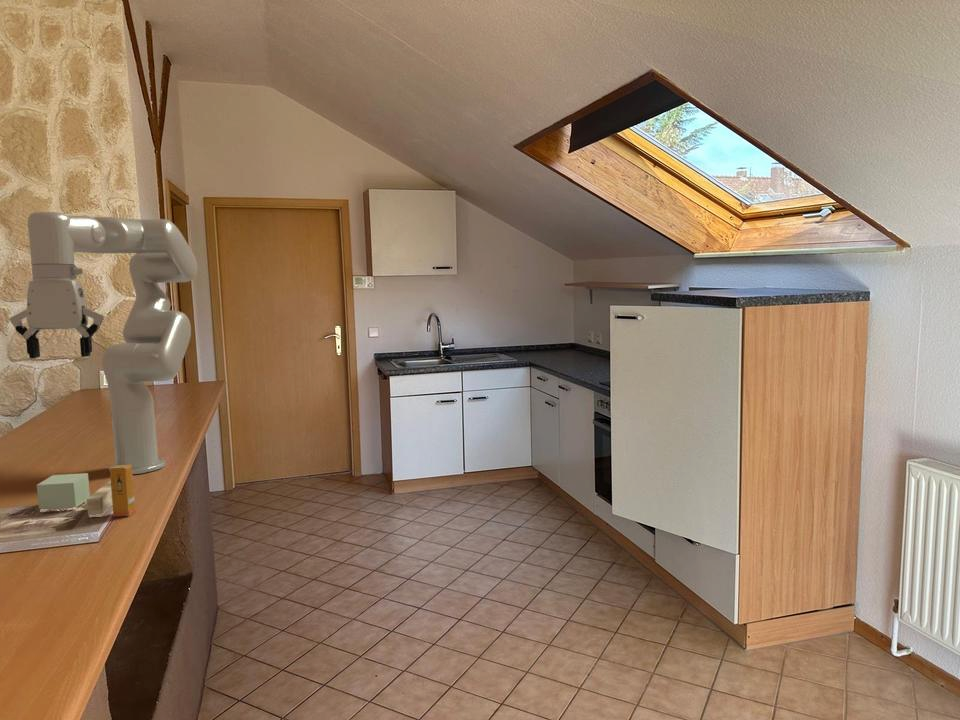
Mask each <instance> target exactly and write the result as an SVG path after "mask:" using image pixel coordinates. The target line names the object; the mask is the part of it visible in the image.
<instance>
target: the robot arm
mask: <svg viewBox="0 0 960 720" xmlns="http://www.w3.org/2000/svg"><path fill="white" fill-rule="evenodd" d="M27 226H28V239H29V240H28V241H29V252H30V253H29V254H30V264H31V277H32V280H30V281H29V282H28V287H27V294H26V309H25V310H22V311H21V312H18V313H16V314H14V315H13V316H10V317H9V321H10V323H11V325H12V326H13V327H14V329H15V331H16V332H17V333H18V334H20V335H21V336H22V337H23V339H24V340H26V341H25V342H26V343H25V344H26V353H27V355H28V356H29V359H37V358H40V357H41V350H40V349H41V348H40V341H39V338H38V337H37V335H38V334H39V333H40V331H41V330H65V329H66V330H68V329H70V330H71V329H75V330H76V331H77V332H78V333H79V334H80V335H81V337H79V346H80V356H81V357H83V358H84V357H86V358H87V357H90V356H91V353H92V352H93V342H92V341H93V340H92V337H93V336H94V335H95V334H96V333H97V332H98V330H100V327H101V325H102V324H103V322H104V319H105V316H104V315H103V314H100V313H98V312H96V311H93V310H91V309H89V308H87V301H86V297H85V292H84V287H83V285H82V282H81V280H77V277H78V276H79V275H83V268H82V267H77V266H76V265H75V253H88V254H100V255H101V254H111V255H112V254H133V255H132V256H131V258H130V260H129V264H128V265H129V267H128V268H129V274H130V279H131V281H132V284H133V287H134V292H135V300H134V302H133V305H132V307H131V310H130V311H129V314H128V317H127V318H126V321H125V323H124V325H123V329H122V338H123V340H124V341H125V342H124V343H116V344H113V345H111V346H109V347H108V348H107V349H105V350H104V352H103V353H102V357H101V365H102V366H101V367H102V370H103V372H104V373H103V374H104V377H105V379H106V383H107V387H108V388H107V389H108V393H109V403H110V413H111V414H110V415H111V425H112V426H111V427H112V436H113V437H112V438H113V448H114V458H115V459H114V460H115V462H114V463H112V464H111V465H110V466H109V467H108V471H109V473H110V468H111V467H114V466H116V465H132V475H138V474H139V475H140V474H144V473H145V474H146V473H149V472H154V471H156V470H159V469H162V468H163V467H164V466H165V465H166V460H165V459H164V458H162V457H159V456H158V443H157V431H156V430H157V429H156V419H155V403H154V397H153V394H152V392H151V391H150V388H148V386H147V384H145V382H164V381H165V382H167V381H170V380H173V379H174V378H175V377H176V376H177V375H178V373H179V372H180V369H181V367H182V363H183V361H184V357H185V354H186V352H187V349H188V347H189V343H190V341H191V337H192V326H191V322H190V321H191V320H190V318H189V317H188V316H187V315H186V314H185V313H184V312H182V311H179V310H173V309H172V310H170V309H171V305H172V304H171V301H170V300H171V299H169V297H168V295H167V294H166V292H165V291H164V290H163V289H162V288H161V287H160V285H159V283H161V284H165V283H168V284H169V283H188V282H190V281H192V280H194V279H196V276H197V274H198V269H199V268H198V267H199V266H198V263H197V259H196V256H195V254H194V252H193V251H192V249H191V247H190V246H189V244H188V242H187V241H186V239H185V236H184V235H183V234H182V232H181V231H180V229H179V227H177V226H176V224H175V223H173V221H171V220H169V219H165V218H158V219H157V218H156V219H155V218H154V219H153V218H152V219H151V218H150V219H145V218H144V219H142V218H140V219H137V218H123V217H122V218H121V217H113V216H96V217H92V216H88V215H67V214H66V213H60V212H53V211H38V212H37V211H36V212H32V213H30V214H29V216H28V217H27ZM89 318H91V319H92V320H93V322H92V324H91V325H90V326H89V327H88V324H89ZM25 319H26V321H27V325H28V328H27V327H26V326H25V325H24V324H23V322H22V321H23V320H25Z"/></svg>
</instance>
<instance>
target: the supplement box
mask: <svg viewBox="0 0 960 720" xmlns="http://www.w3.org/2000/svg"><path fill="white" fill-rule="evenodd" d="M109 476H110V477H109V478H110V480H111V492H112V504H113V508H112V515H113V517H115V518H117V517H130V516H131V515H133V514H135V513H136V511H137V509H136V500H135V499H136V498H135V489H134V474H132V465H116V466H114V467H111V468H110V472H109Z"/></svg>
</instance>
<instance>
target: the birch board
mask: <svg viewBox="0 0 960 720" xmlns="http://www.w3.org/2000/svg"><path fill="white" fill-rule="evenodd" d="M86 505H87V506H86V507H87V515H96V514H102V513H103V512H104V511H105V510H106V509H107V508H109V507H110V506H111V505H112V492H111V479H110V480H109V481H108V482H106V483H105V484H104V485H102V487H100V488H99V489H98V490H96V491H95V492H94V493H92V494H90V497H88V498H87V502H86Z"/></svg>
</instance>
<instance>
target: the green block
mask: <svg viewBox="0 0 960 720" xmlns="http://www.w3.org/2000/svg"><path fill="white" fill-rule="evenodd" d="M36 491H37V492H36V493H37V501H38V510H39V509H58V508H73V507H77V506H79V505H80V504H82V503H83V502H86V501H87V498H88V497H90V496H91V493H90V491H91V490H90V482H89V473H88V472H85V473H84V472H83V473H69V474H67V473H66V474H52V475H50V476H49V477H47V478H45V480H42V481H41V482H39V483H37V484H36ZM86 503H87V502H86Z"/></svg>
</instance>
